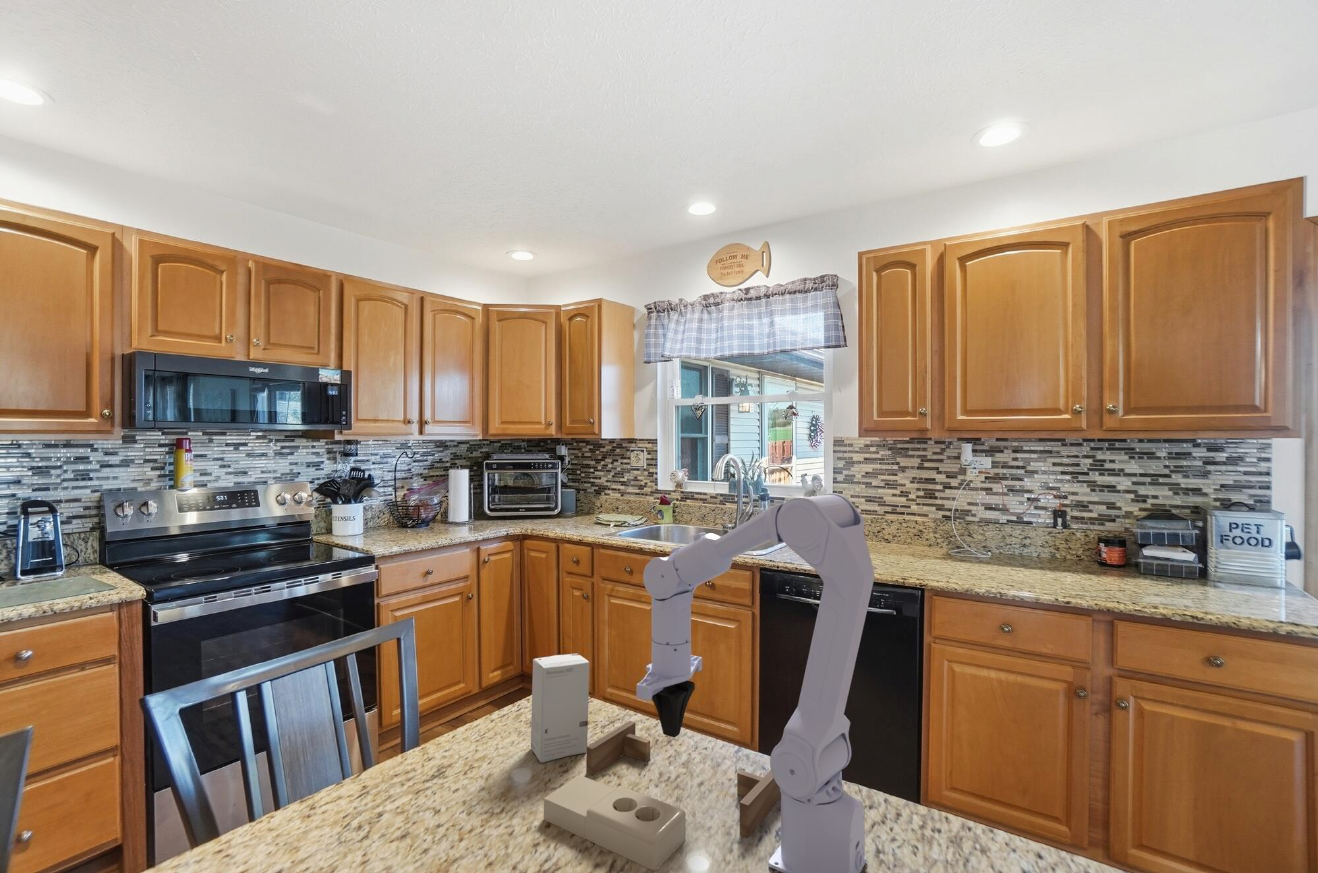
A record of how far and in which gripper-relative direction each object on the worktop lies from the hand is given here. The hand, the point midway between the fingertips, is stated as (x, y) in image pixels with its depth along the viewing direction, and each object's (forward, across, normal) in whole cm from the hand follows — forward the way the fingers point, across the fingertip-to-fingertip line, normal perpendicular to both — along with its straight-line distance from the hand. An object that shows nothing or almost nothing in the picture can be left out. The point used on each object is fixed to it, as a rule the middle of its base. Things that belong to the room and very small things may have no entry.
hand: (671, 734), depth 89 cm
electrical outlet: (+9, +11, -2) cm, 14 cm away
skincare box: (+9, 0, -22) cm, 24 cm away
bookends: (+8, -3, 0) cm, 9 cm away
